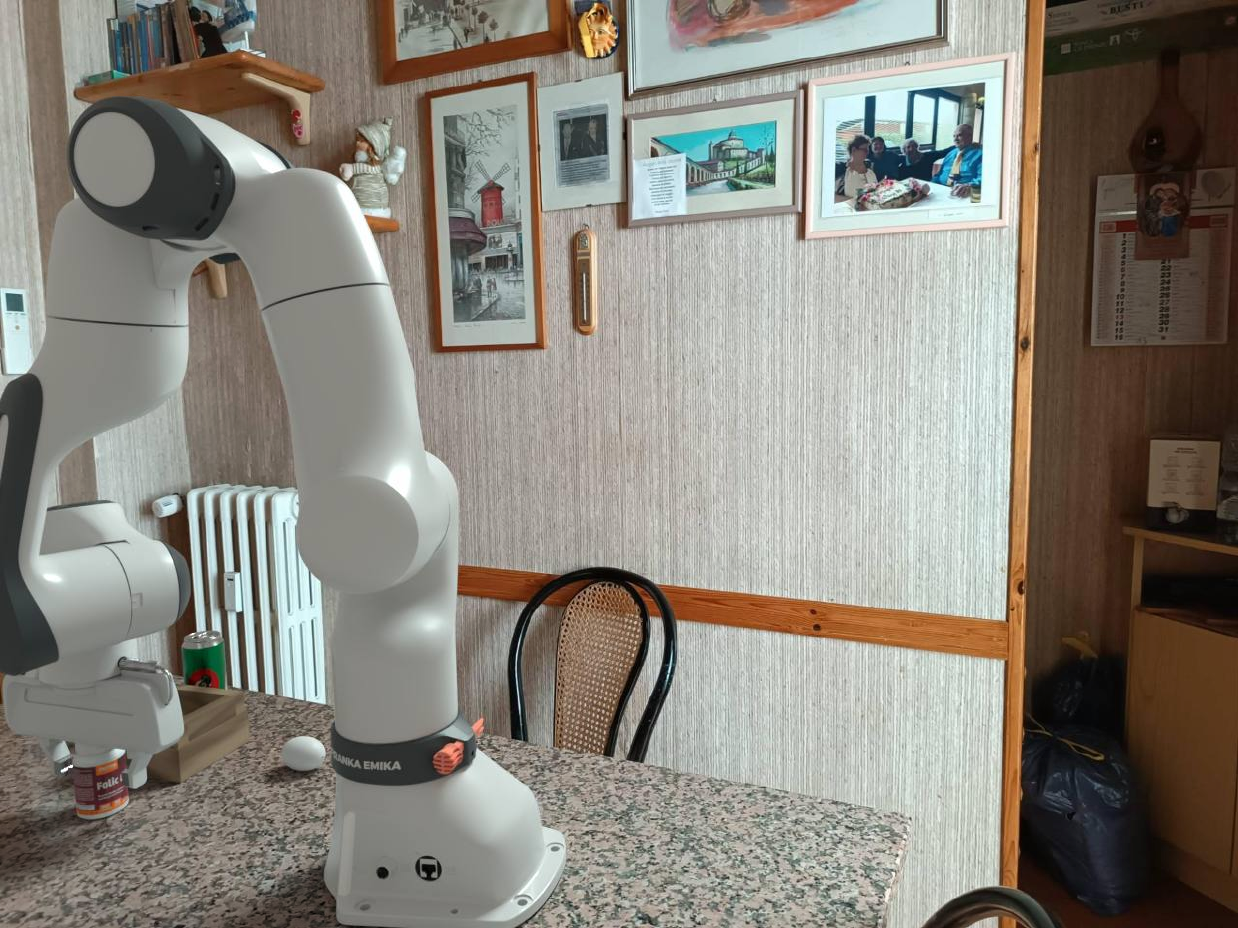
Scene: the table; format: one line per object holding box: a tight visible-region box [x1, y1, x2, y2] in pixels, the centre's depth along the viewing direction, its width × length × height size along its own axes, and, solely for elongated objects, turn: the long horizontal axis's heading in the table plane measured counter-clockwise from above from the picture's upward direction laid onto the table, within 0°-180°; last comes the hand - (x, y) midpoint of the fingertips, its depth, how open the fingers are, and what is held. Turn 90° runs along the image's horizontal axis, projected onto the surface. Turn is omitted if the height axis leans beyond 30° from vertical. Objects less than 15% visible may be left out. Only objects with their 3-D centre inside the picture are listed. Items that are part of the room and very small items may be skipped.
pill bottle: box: [72, 743, 130, 820], centre depth 85 cm, size 5×5×8 cm
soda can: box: [180, 630, 229, 690], centre depth 106 cm, size 5×5×12 cm
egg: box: [280, 735, 326, 772], centre depth 94 cm, size 4×6×4 cm, turn 72°
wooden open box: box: [125, 683, 251, 784], centre depth 97 cm, size 11×11×6 cm
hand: (99, 779), depth 85 cm, fingers open, 8 cm apart
